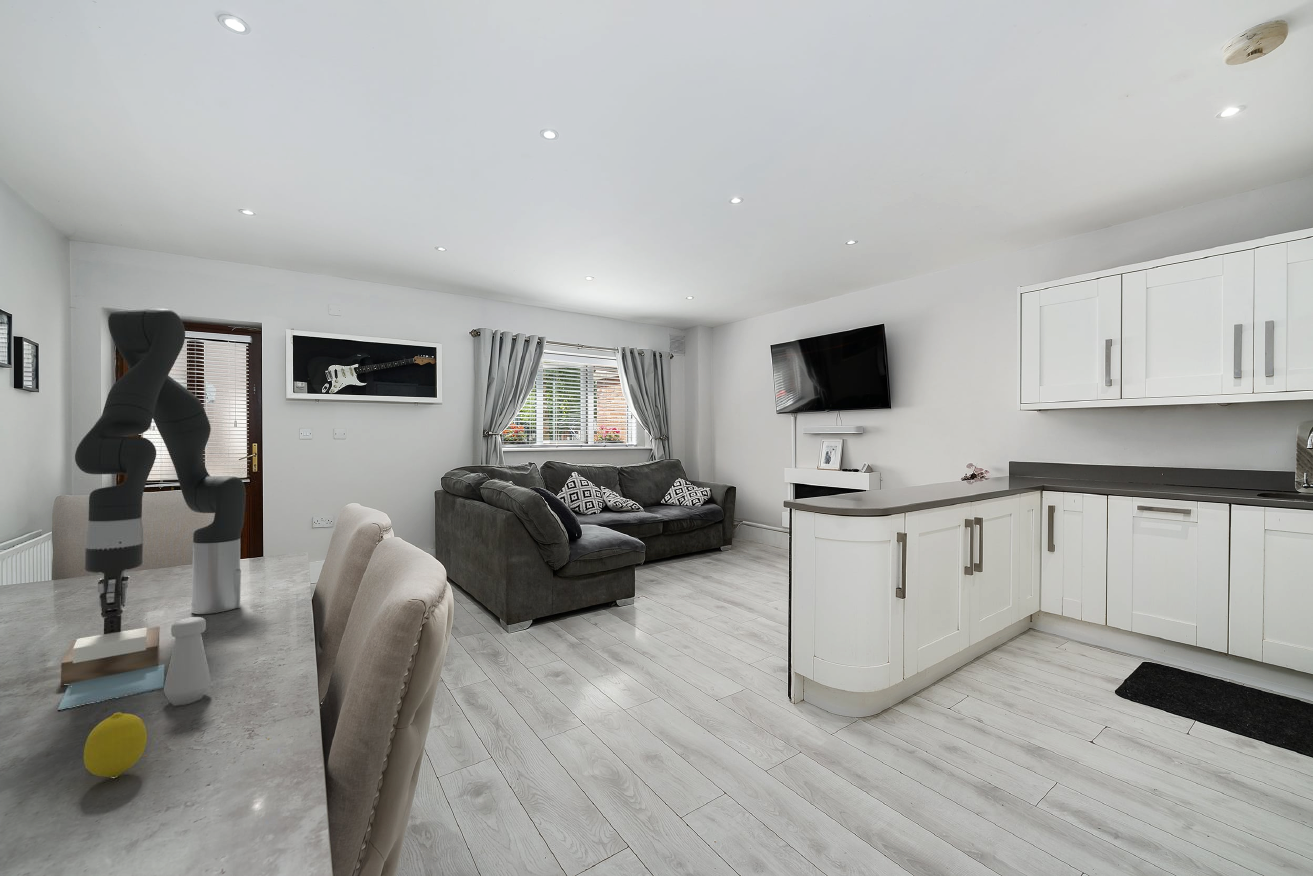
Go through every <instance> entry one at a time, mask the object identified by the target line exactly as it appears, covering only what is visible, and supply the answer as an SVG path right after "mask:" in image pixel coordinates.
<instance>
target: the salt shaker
mask: <svg viewBox="0 0 1313 876" xmlns="http://www.w3.org/2000/svg"><path fill="white" fill-rule="evenodd" d="M206 627H207V622H206V619H205V618H203V617H200V616H194V617H193V616H192V617H186V618H182V619H178V620H177V621H174V623H173V624H171V627H170V628H171V629H170V634H171V637H173V638H175V640H174V644H173V647H172V651H171V656H170V661H169V665H168V670H167V672H166V673H167V674H166V678H165V680H164V681H165V682H164V686H163V692H164V695H165V697H166V698H167V699H168V702H169V703H170V704H171V705H173V706H175V707H178V706H183V705H189V704H192V703H195V702H197V701H200V700H202V699H203V697H204V695H205V693H206V692H207V690H208V689H209V687H210V685H211V683H212V678H211V675H210V674H211V673H210V671H209V670H210V669H209V665H208V661H207V657H206V656H207V655H206V651H205V647H204V646H205V645H204V642H203V637H202V634H203V633H204V632H205V631H206Z"/></svg>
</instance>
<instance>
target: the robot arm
mask: <svg viewBox="0 0 1313 876" xmlns="http://www.w3.org/2000/svg"><path fill="white" fill-rule="evenodd" d="M107 322H108V323H107V325H108V330H109V332H110V333H109V334H110V336H111V339H112V341H113V342H114V345H115V346H116V348H117V350H118V352H119V355H121V357H122V359H123V360H124V362H125V364H126V366H127V368H128V369H129V370H127V371H126V372H125V373H124V374H123V375H122V376H120V378H119V379H117V381H116V382H115V383H113V385H112V387H111V388H110V390H109V391H108V394H107V397H106V400H105V404H104V407H103V409H102V410H103V411H102V413H101V416H100V417H99V419H97V420H96V422H95V424H94V425H93V427H92V428H91V429H90V430H89V431H88V432H87V433H86V435H84V437H83V438H82V439H81V440H80V442H79V443H78V446H77V447H76V451H75V454H74V461H75V464H76V466H77V468H78V469H79V470H80V471H82V472H83V473H84V474H89V475H126V477H125V478H124V481H122V482H121V483H119V484H116V485H111V486H105V487H100V488H96V489H94V490H92V491H91V492H90V494H89V496H88V522H87V528H86V530H85V531H86V533H85V555H84V556H85V557H84V558H85V560H84V570H85V571H86V572H87V573H102V574H103V578H100V579H99V581H97V592H98V595H99V598H98V599H99V601H98V605H99V607H100V608H101V613H100V616H101V618H102V619H103V635H104V634H110V633H116V632H122V620H123V619H122V616H123V615H124V611H125V609H124V607H125V606H126V605H125V603H126V601H127V599H128V588H129V585H130V575H127V576H125V570H126V571H127V570H132V569H133V570H134V569H136V568H139V567H141V566H142V565H143V555H144V554H143V551H144V549H143V548H144V543H143V542H144V526H143V521H142V517H143V496H144V491H145V488H146V484H147V481H148V479H149V475H150V473H151V471H152V469H153V466H154V464H155V461H156V458H157V448H156V446H155V445H154V443H153V442H152V441H151V440H150V439H148V438H146V437H143V436H141V437H140V436H135V435H141V434H143V433H145V432H148V430H149V429H150V427H151V425H152V423H154V425H155V427H156V428H157V431H158V432H159V435H160V437H161V438H162V441H163V443H164V445H165V448H166V449H167V452H168V455H169V457H170V459H171V462H172V464H173V467H174V470H175V473H176V477H177V481H178V484H179V487H180V491H181V493H182V497H183V499H184V502H185V504H186V506H187V507H188V508H189V509H190V510H191V511H193V512H195V513H200V514H214V516H213V521H212V522H211V523H209V524H208V525H205V526H203V527H200V528H198V529H196V530H195V531H194V532H193V533H192V534H193V536H192V537H193V538H192V574H191V575H192V580H191V581H192V582H191V583H192V584H191V613H192V614H196V615H210V614H217V613H222V612H226V611H230V610H234V609H238V608H241V590H242V589H241V586H242V583H241V581H242V580H241V579H242V576H241V575H242V570H241V535H242V534H241V533H242V530H243V528H244V525H245V511H246V503H247V501H246V500H247V499H246V498H247V490H246V486H245V483H244V481H243V480H242V479H241V478H239V477H237V476H229V475H228V476H226V475H225V476H218V475H217V476H216V475H215V476H211V475H210V474H209V472H208V470H207V468H206V465H205V462H204V457H203V456H204V451H205V448H206V447H207V444H208V441H209V438H210V435H211V432H212V431H211V430H212V428H211V424H210V420H209V418H208V415H207V412H206V410H205V406H204V405H203V403H202V401H201V400H200V399H199V398H198V397H197V396H196V395H195V394H194V393H193V392H192V391H190V390H189V389H187V388H186V387H185V386H183V385H182V384H181V383H179V382H178V381H176V380H175V379H174V378H173V377H171V376H170V375H169V374H170V372H171V370H172V369H173V367H174V365H175V363H176V361H177V359H178V357H179V355H180V354H181V351H182V348H183V346H184V345H185V340H186V330H185V329H186V328H185V324H184V323H183V321H182V319H181V318H180V316H179V314H177V312H175V311H173V310H171V309H167V308H158V307H157V308H135V309H134V308H133V309H131V308H129V309H118V310H114V311H112V312H110V314H109V316H108V320H107Z"/></svg>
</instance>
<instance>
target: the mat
mask: <svg viewBox="0 0 1313 876" xmlns="http://www.w3.org/2000/svg"><path fill="white" fill-rule="evenodd" d="M165 668H166V667H165V664H160V665H157V666H154V667H149V668H144V669H139V670H134V671H129V672H124V673H119V674H114V675H109V676H104V677H99V678H94V679H88V680H83V681H78V682H73V683H69V685H67V688H66V690H65V693H64V694H63V697H62V699H61V701H60V704H59V706H58V708H57V711H58V710H60V709H62V708H68V707H73V706H77V705H82V704H87V703H91V702H97V701H102V700H107V699H110V698H116V697H121V698H123V697H122V696H125V695H130V696H132V695H131V694H134V695H138V694H137V693H139V694H143V693H147V692H151V691H152V690H153V691H157V690H160V689H164V685H165V682H164V681H165ZM71 686H72V687H71ZM142 692H143V693H142ZM70 696H71V697H73V698H75V699H70V698H69V697H70ZM125 697H126V696H125ZM63 698H64V699H63ZM65 698H66V699H65ZM116 699H117V698H116ZM107 701H108V700H107ZM102 702H103V701H102ZM61 707H62V708H61Z"/></svg>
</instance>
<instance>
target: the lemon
mask: <svg viewBox="0 0 1313 876" xmlns="http://www.w3.org/2000/svg"><path fill="white" fill-rule="evenodd" d="M147 741H148V733H147V728H146V726H145V723H144V721H143V720H142V719H141V718H140V717H139V716H137V715H134V714H131V713H122V712H120V711H119V712H115V713H113V714H112V715H111V716H108V717H107V718H105V719H104V720H102V721H100V722H99V723H98V724H97V725H96V726H95V727H94V728H93V729H92V730H91V732H90V733H89V734H88V736H87V738H86V742H85V745H84V750H83V762H84V767H85V768H86V769H87V771H89V772H90V773H91V774H92V775H94V776H97V777H108V778H110V777H116V776H119V775H120V776H121V775H122V774H123V773H124V772H125V771H127V770H129V769H130V768H131V767H133V766H134V765H135V764H136V763H138V761H139V760H140V758H141V757H142V755H143V753H144V751H145V748H146V745H147ZM120 776H119V777H120Z"/></svg>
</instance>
